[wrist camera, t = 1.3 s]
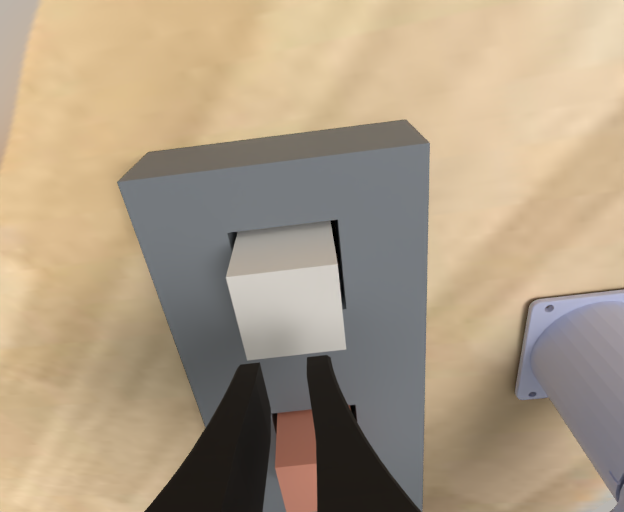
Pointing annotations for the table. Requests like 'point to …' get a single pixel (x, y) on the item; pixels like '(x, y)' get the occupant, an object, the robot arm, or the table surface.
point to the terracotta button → (297, 460)
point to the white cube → (287, 291)
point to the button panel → (352, 269)
